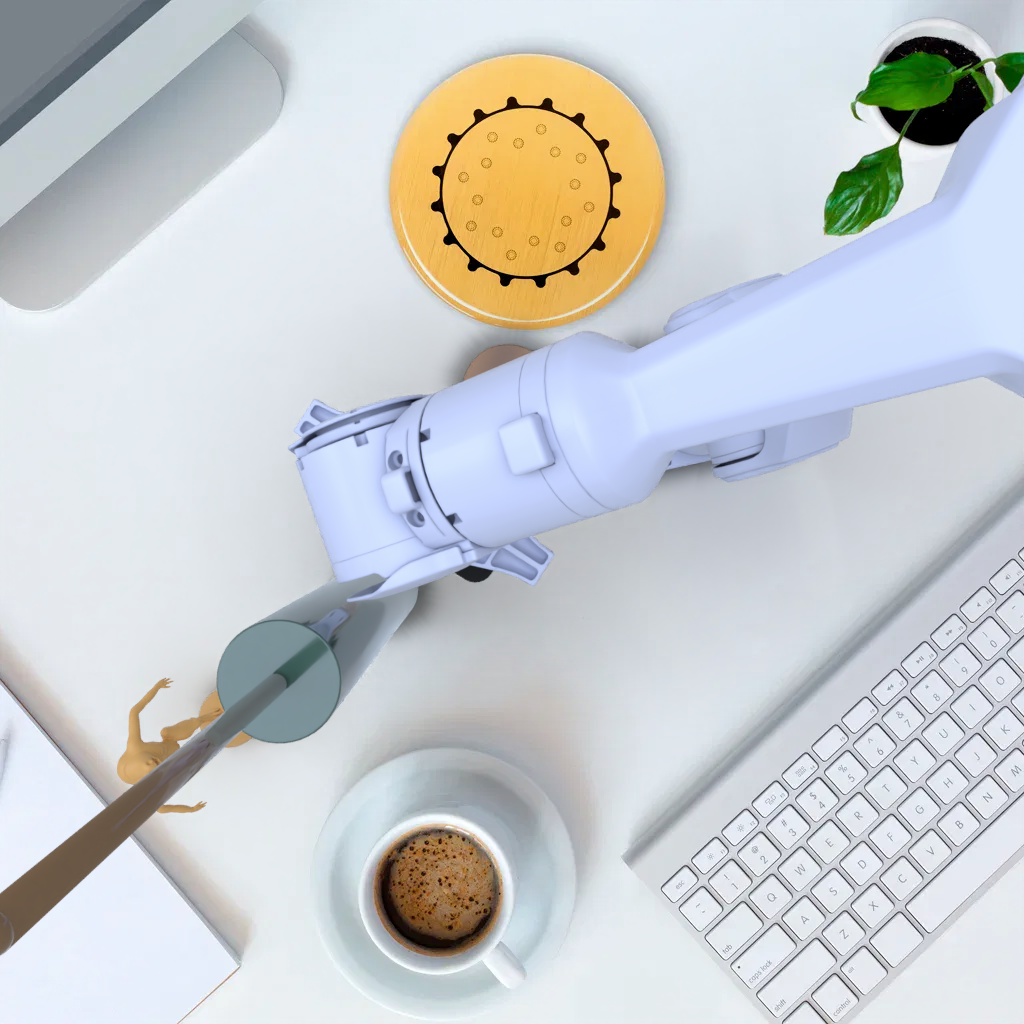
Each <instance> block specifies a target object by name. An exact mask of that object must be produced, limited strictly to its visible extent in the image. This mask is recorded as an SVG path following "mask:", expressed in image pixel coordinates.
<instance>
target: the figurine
mask: <svg viewBox="0 0 1024 1024" xmlns="http://www.w3.org/2000/svg"><path fill="white" fill-rule="evenodd" d="M172 683H174V680H171V678H170V677H169V678H167V677H163V678H161V679H160V680H159V681H157V682H156V683H155V684H154V686H153V687H152V688H150V690H149V691H148V692H146V694H145V695H143V697H142V698H141V699H140V700H139V701H138V702H137V703H136V704H135V705H133V706H132V707H131V708H130V710H129V714H128V737H127V740H126V749H125V751H124V752H123V754H122V755H121V756H120V757H119V759H118V761H117V765H116V773H117V776H118V778H119V779H120V780H121V781H123V783H125V784H127V785H132V786H133V785H135V784H136V783H137V782H138V781H140V780H141V779H142V778H143V777H145V776H146V775H147V774H148V773H149V772H151V771H152V770H153V769H154V768H156V767H157V766H158V765H159V764H161V763H162V762H163V761H164V760H166V759H167V758H168V757H169V756H170V755H172V754H173V753H174V752H175V751H177V750H178V749H179V748H180V747H181V745H180V744H179V743H178V742H180V741H181V742H182V741H185V740H188V739H190V738H192V737H191V736H193V734H194V733H195V732H196V731H197V730H198V729H200V731H201V730H203V729H204V728H205V727H206V726H208V725H209V724H210V723H211V722H212V721H214V720H215V719H216V718H217V717H219V716H220V715H221V714H222V713H224V712H225V711H224V710H223V707H222V705H221V703H220V700H219V696H218V692H217V689H216V690H214V691H213V692H211V693H210V694H209V695H207V697H206V698H205V699H204V700H203V702H202V704H201V706H200V708H199V713H198V716H197V717H190V718H188V719H184V720H183V719H182V720H180V721H178V722H177V723H175V724H173V725H169V726H165V727H163V728H161V730H160V732H159V733H160V737H161V739H162V741H154V740H153V741H144V740H143V739H142V736H141V735H142V734H141V721H140V713H141V712H142V711H144V709H145V708H146V706H147V705H148V704H149V703H150V702H152V700H153V699H154V698H155V697H156V696H157V694H158V692H159V691H160V690H161V689H170V688H171V685H170V684H172ZM251 739H252V737H251V736H249V735H247V734H245V733H244V732H241V733H240V734H238V735H237V736H236V737H235V738H234V739H233V740H232V741H231V742H230V743H229V744H228V745H227V746H226V747H225V748H224V749H233V748H236V747H237V748H238V747H240V746H242V745H245V744H246V743H248V742H249V741H250V740H251ZM207 804H208V801H205V802H203V800H201V801H199V802H198V803H196V804H195V805H194V806H189V805H186V804H164V805H163V806H161V807H160V808H159V809H158V810H157V811H156V812H157V813H159V814H169V813H175V814H176V813H177V814H185V813H186V814H187V813H190V814H191V813H192V814H193V813H195V812H198V811H200V810H202V809H204V808H205V807H206V805H207Z"/></svg>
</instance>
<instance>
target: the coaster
mask: <svg viewBox="0 0 1024 1024" xmlns="http://www.w3.org/2000/svg"><path fill="white" fill-rule="evenodd" d="M531 352H533V351H531V350H529V349H528V348H526V347H523V346H521V345H516V344H499V345H495V346H492V347H489V348H487V349H486V350H483V351H481V352H480V353H479V354H478V355H476V357H475V358H474V359H473V360H472V361H471V363H470V364H469V366H468V367H467V369H466V372H465V374H464V378H463V381H465V380H467V379H470V378H472V377H474V376H477V375H479V374H481V373H484V372H486V371H488V370H491V369H493V368H495V367H498V366H500V365H503V364H505V363H507V362H510V361H512V360H514V359H517V358H519V357H521V356H524V355H526V354H528V353H531Z"/></svg>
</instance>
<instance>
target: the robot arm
mask: <svg viewBox="0 0 1024 1024" xmlns="http://www.w3.org/2000/svg"><path fill="white" fill-rule="evenodd" d="M663 331H664V333H665V335H663V336H661V337H660V338H657V339H656V340H653V341H652V342H649V343H648V344H646V345H644V346H642V347H640V348H638V347H635V346H633V345H630V344H628V343H625V342H623V341H620V340H618V339H616V338H613V337H611V336H608V335H605V334H602V333H600V332H596V331H591V330H583V331H578V332H576V333H573V334H571V335H569V336H567V337H565V338H562V339H559V340H557V341H554V342H553V343H550V344H548V345H545V346H542V347H540V348H538V349H536V350H533V351H532V352H531V353H528V354H526V355H524V356H521V357H519V358H517V359H514V360H512V361H510V362H507V363H505V364H503V365H500V366H498V367H495V368H493V369H491V370H488V371H486V372H484V373H481V374H479V375H477V376H474V377H472V378H470V379H467V380H465V381H464V380H463V381H461V382H458V383H456V384H452V385H451V386H449V387H446V388H444V389H442V390H439V391H437V392H434V393H433V394H432V393H429V394H422V393H421V394H409V395H401V396H396V397H391V398H387V399H383V400H379V401H376V402H372V403H369V404H366V405H362V406H360V407H357V408H354V409H351V410H348V411H346V412H345V411H342V410H338V409H335V408H334V407H331V406H330V405H328V404H327V403H325V402H323V401H321V400H319V399H316V398H314V399H313V400H312V401H311V402H310V404H309V406H308V407H307V409H306V410H305V411H304V414H302V417H301V418H300V420H299V421H298V423H297V425H296V426H295V428H294V429H293V432H294V434H296V435H298V436H299V437H300V438H299V439H298V440H295V442H293V443H292V444H290V445H289V446H288V447H287V449H288V451H289V452H291V453H292V454H294V455H295V457H296V460H295V467H296V469H297V472H298V474H299V477H300V481H301V483H302V486H303V488H304V489H303V490H304V491H305V494H306V497H307V500H308V503H309V506H310V508H311V511H312V515H313V517H314V520H315V523H316V525H317V528H318V531H319V534H320V537H321V540H322V542H323V545H324V548H325V551H326V553H327V556H328V559H329V562H330V565H331V567H332V570H333V573H334V576H335V578H336V579H337V582H338V583H345V582H349V581H353V580H356V579H359V578H363V577H366V576H369V575H372V574H379V575H380V576H381V577H383V578H388V579H387V580H386V581H383V582H381V583H378V584H376V585H373V586H371V587H368V588H366V589H364V590H361V591H359V592H357V593H355V594H353V595H351V596H350V597H348V598H347V602H355V601H364V600H372V599H379V598H383V597H387V596H390V595H394V594H397V593H400V592H403V591H406V590H409V589H412V588H415V587H418V588H419V587H421V586H424V585H427V584H429V583H432V582H434V581H437V580H440V579H442V578H445V577H448V576H450V575H452V574H456V575H457V576H458V577H460V578H462V579H463V580H464V581H467V582H468V583H475V584H476V583H481V582H484V581H486V580H487V579H488V578H489V577H490V576H491V575H492V574H493V572H494V571H495V572H498V573H502V574H504V575H508V576H512V577H514V578H516V579H519V580H521V581H523V582H524V583H526V584H527V585H529V586H531V587H535V586H536V585H537V584H538V582H539V580H540V579H541V577H542V575H543V574H544V572H545V571H546V570H547V568H548V566H549V565H550V564H551V562H552V560H553V558H554V557H555V553H554V551H553V550H552V549H550V548H549V547H547V546H546V545H544V544H543V543H542V542H540V541H539V540H538V539H537V538H536V537H535V536H537V535H540V534H543V533H546V532H549V531H552V530H555V529H559V528H562V527H565V526H569V525H572V524H575V523H579V522H582V521H585V520H588V519H592V518H596V517H599V516H602V515H605V514H609V513H611V512H615V511H618V510H621V509H624V508H627V507H630V506H633V505H637V504H640V503H643V502H644V501H645V500H646V499H648V498H649V497H650V496H651V495H652V493H653V492H654V490H655V489H657V486H658V485H659V484H660V481H661V479H662V478H663V476H664V474H665V472H666V471H668V470H673V469H677V468H683V467H687V466H692V465H695V464H701V463H705V462H710V461H711V463H712V467H711V471H712V472H711V473H712V477H714V478H715V479H720V480H722V481H723V482H726V483H735V482H740V481H744V480H747V479H751V478H754V477H759V476H761V475H763V474H768V473H771V472H775V471H776V470H780V469H783V468H786V467H789V466H791V465H794V464H797V463H800V462H803V461H805V460H808V459H810V458H813V457H816V456H819V455H821V454H824V453H826V452H829V451H831V450H833V449H836V448H837V447H838V446H839V445H840V442H842V441H845V440H846V439H848V438H849V437H850V435H851V431H852V430H851V429H852V425H853V416H854V415H853V414H854V408H859V407H862V406H866V405H871V404H876V403H879V402H885V401H887V400H888V401H889V400H892V399H896V398H900V397H905V396H909V395H913V394H917V393H920V392H921V393H922V392H925V391H930V390H934V389H937V388H942V387H945V386H950V385H955V384H958V383H963V382H967V381H971V380H974V379H979V378H984V379H987V380H990V381H991V382H992V383H995V384H997V385H999V386H1001V388H1004V389H1006V390H1008V391H1010V392H1012V393H1014V394H1015V395H1016V396H1017V395H1018V396H1019V397H1021V398H1023V399H1024V74H1023V75H1022V77H1021V79H1020V81H1019V82H1018V84H1017V86H1016V87H1015V88H1014V89H1013V90H1012V92H1011V93H1010V94H1009V95H1007V96H1006V97H1004V98H1003V99H1001V100H1000V101H998V102H997V103H995V104H994V105H992V106H991V107H990V108H988V109H987V110H986V111H984V112H983V113H982V114H981V115H979V116H978V117H976V119H974V120H973V121H972V122H971V123H970V124H969V126H968V127H967V128H966V129H965V130H964V132H963V133H962V134H961V136H960V137H959V139H958V141H957V144H956V145H955V148H954V150H953V153H952V155H951V157H950V159H949V161H948V164H947V166H946V169H945V170H944V172H943V176H942V177H941V180H940V182H939V184H938V187H937V189H936V191H935V194H934V196H933V198H932V199H931V201H930V202H928V203H926V204H924V205H922V206H920V207H918V208H916V209H914V210H912V211H910V212H908V213H906V214H904V215H901V216H900V217H898V218H895V219H894V220H892V221H889V222H887V223H886V224H884V225H882V226H881V227H878V228H876V229H874V230H872V231H870V232H868V233H866V234H865V235H863V236H861V237H859V238H857V239H854V240H852V241H850V242H849V243H847V244H845V245H842V246H841V247H839V248H836V249H834V250H833V251H830V252H829V253H826V254H824V255H823V256H821V257H818V258H816V259H814V260H813V261H811V262H809V263H807V264H804V265H803V266H801V267H799V268H797V269H795V270H792V271H791V272H789V273H786V274H783V273H780V272H776V273H772V274H767V275H764V276H760V277H757V278H754V279H751V280H747V281H745V282H742V283H739V284H736V285H733V286H730V287H728V288H726V289H723V290H721V291H718V292H716V293H714V294H711V295H707V296H705V297H703V298H701V299H698V300H696V301H694V302H691V303H689V304H687V305H685V306H683V307H681V308H679V309H677V310H675V311H674V312H672V313H671V314H670V316H669V318H668V320H667V323H665V325H664V326H663Z"/></svg>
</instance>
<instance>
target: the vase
mask: <svg viewBox="0 0 1024 1024" xmlns="http://www.w3.org/2000/svg"><path fill="white" fill-rule="evenodd" d="M387 579H388V578H383V577H381V576H380V575H379V574H372V575H369V576H366V577H363V578H359V579H356V580H353V581H349V582H345V583H338V582H337V579H336V577H335V578H333V579H332V580H330V581H328V582H326V583H325V584H323V585H321V586H319V587H317V588H316V589H314V590H312V591H310V592H309V593H307V594H305V595H303V596H301V597H299V598H298V599H296V600H294V601H292V602H291V603H289V604H287V605H285V606H283V607H282V608H280V609H278V610H276V611H274V612H272V613H271V614H269V615H267V616H265V617H264V618H261V619H260V620H258V621H256V622H254V623H253V624H251V625H249V626H248V627H246V628H244V629H243V630H242V631H240V632H239V633H237V634H236V635H235V637H233V639H232V640H230V642H229V643H228V644H227V646H226V647H225V649H224V650H223V652H222V655H221V657H220V660H219V662H218V665H217V666H218V667H217V671H216V690H217V692H218V696H219V700H220V703H221V705H222V707H223V710H224V711H225V712H224V713H222V714H221V715H220V716H219V717H217V718H216V719H215V720H214V721H212V722H211V723H210V724H209V725H208V726H206V727H205V728H204V729H203V730H201V729H200V731H199V732H198V733H197V734H195V735H194V736H193V737H190V738H189V740H188V741H186V742H185V743H184V744H183V745H181V746H180V748H179V749H178V750H177V751H175V752H174V753H173V754H172V755H170V756H169V757H168V758H167V759H166V760H164V761H163V762H162V763H161V764H159V765H158V766H157V767H156V768H154V769H153V770H152V771H151V772H149V773H148V774H147V775H146V776H145V777H143V778H142V779H141V780H140V781H138V782H137V783H136V784H135V785H132V786H131V787H130V788H128V789H127V790H126V791H125V792H123V793H122V794H121V795H120V796H119V797H117V798H116V799H115V800H113V801H112V802H111V803H110V804H109V805H107V806H106V807H105V808H104V809H103V810H101V811H100V812H99V813H98V814H96V815H95V816H94V817H92V819H90V820H89V821H87V822H86V823H85V824H84V825H83V826H82V827H80V828H79V829H78V830H77V831H75V832H74V833H72V835H71V836H69V837H68V838H66V839H65V840H64V841H62V843H60V844H59V845H58V846H57V847H56V848H54V849H53V850H52V851H50V852H49V853H48V854H47V855H45V856H44V857H43V858H41V860H39V861H38V862H36V864H35V865H33V866H32V867H31V868H30V869H28V870H26V872H24V873H23V874H21V876H20V877H18V878H17V879H16V880H15V881H13V882H12V883H11V884H10V885H9V886H7V887H6V888H5V889H3V890H2V891H1V892H0V957H2V956H3V955H4V954H6V953H7V952H8V950H10V949H11V948H12V947H13V946H14V945H15V944H16V943H18V941H19V940H21V939H22V938H23V937H24V936H25V935H26V934H27V933H28V932H30V930H31V929H32V928H33V927H34V926H36V925H37V924H38V923H39V922H40V921H41V920H42V919H43V918H44V917H45V916H46V915H48V913H50V911H52V910H53V909H54V908H55V907H56V906H57V905H58V904H59V903H60V902H61V901H62V900H64V898H65V897H66V896H68V895H69V894H70V893H72V891H73V890H74V889H75V888H76V887H77V886H78V885H79V884H81V883H82V881H84V880H85V879H86V878H87V877H88V876H89V875H90V874H91V873H92V872H93V871H94V870H96V869H97V867H99V866H100V865H101V864H102V863H103V862H104V861H105V860H106V859H107V858H108V857H109V856H110V855H111V854H112V853H114V852H115V851H116V850H117V849H118V848H119V847H120V846H121V845H122V844H123V843H125V841H126V840H127V839H129V837H131V836H132V835H133V834H134V833H135V832H136V831H137V830H139V828H141V826H143V824H144V823H145V822H147V821H148V820H149V819H150V818H151V817H152V816H153V815H154V814H156V812H157V810H158V809H159V808H160V807H161V806H163V805H166V803H167V802H168V801H169V800H170V799H172V797H174V795H175V794H177V793H178V792H179V791H180V790H181V789H182V788H183V787H184V786H185V785H186V784H188V783H189V781H191V779H193V778H194V777H195V776H196V775H197V774H199V772H201V770H202V769H203V768H204V767H205V766H206V765H207V764H209V763H210V762H211V761H213V760H214V758H215V757H216V756H217V755H218V754H220V753H221V752H222V750H224V749H226V748H225V747H226V746H227V745H228V744H229V743H230V742H231V741H232V740H233V739H234V738H235V737H236V736H237V735H238V734H240V733H241V732H244V733H245V734H247V735H249V736H251V737H252V738H253V739H255V740H258V741H260V742H264V743H267V744H268V743H269V744H275V745H277V744H290V743H295V742H299V741H303V740H304V739H307V738H309V737H310V736H312V735H314V734H315V733H317V732H318V731H319V730H320V729H322V728H323V727H324V725H326V724H327V722H328V721H329V720H330V719H331V718H332V716H333V715H334V713H335V712H336V711H337V709H338V708H339V707H340V705H341V704H342V702H343V701H344V700H345V699H346V698H347V697H348V695H349V694H350V693H351V691H352V690H353V688H354V687H355V686H356V685H357V683H358V682H359V680H360V679H361V678H362V676H363V675H364V674H365V673H366V671H367V670H368V668H369V667H370V665H371V664H372V663H373V662H374V661H375V659H376V658H377V656H378V655H379V654H380V652H381V651H382V650H383V649H384V648H385V646H386V644H387V643H388V642H389V641H390V639H391V638H392V637H393V635H394V634H395V633H396V631H397V630H398V629H399V627H400V626H401V625H402V624H403V622H404V621H405V619H406V618H407V617H408V616H409V614H410V613H411V611H412V610H413V609H414V607H415V605H416V603H417V600H418V597H419V586H418V587H415V588H412V589H409V590H406V591H403V592H400V593H397V594H394V595H390V596H387V597H383V598H379V599H372V600H364V601H355V602H347V598H348V597H350V596H351V595H353V594H355V593H357V592H359V591H361V590H364V589H366V588H368V587H371V586H373V585H376V584H378V583H381V582H383V581H386V580H387ZM252 738H251V739H252Z"/></svg>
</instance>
